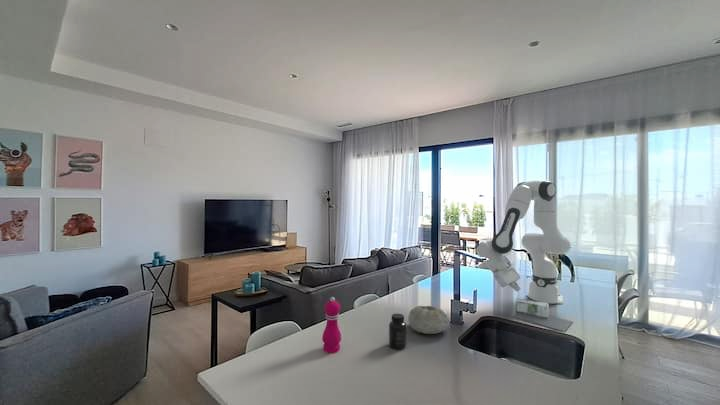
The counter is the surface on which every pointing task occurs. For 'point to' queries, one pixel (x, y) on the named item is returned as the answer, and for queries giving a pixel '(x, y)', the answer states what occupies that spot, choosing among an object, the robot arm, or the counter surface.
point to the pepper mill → (331, 327)
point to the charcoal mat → (545, 321)
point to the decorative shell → (428, 319)
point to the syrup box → (532, 307)
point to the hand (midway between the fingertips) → (518, 290)
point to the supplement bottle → (397, 332)
